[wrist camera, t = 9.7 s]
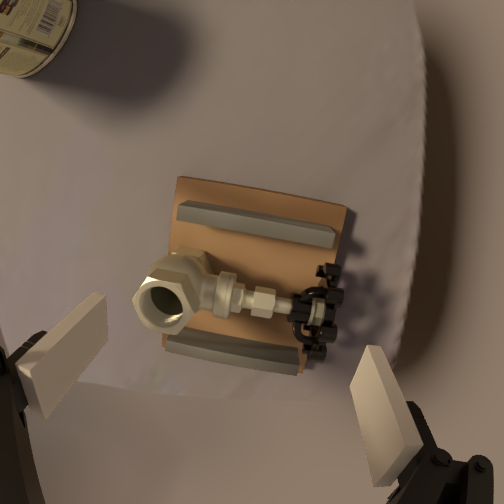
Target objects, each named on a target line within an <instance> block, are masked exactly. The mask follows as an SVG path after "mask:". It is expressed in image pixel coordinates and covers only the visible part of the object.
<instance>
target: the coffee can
mask: <svg viewBox="0 0 504 504" xmlns="http://www.w3.org/2000/svg"><path fill="white" fill-rule="evenodd" d="M76 13H77V2H76V0H0V74H5V75H10V76H13V77H16V78H24V77H28V76H30V75H33V74H34V73H36V72H38V71H40V70H41V69H42V68H43V67H45V66H46V65H47V64H48V63H49V62H50V61H51V60H52V59H53V58H54V57H55V56H56V55H57V53H58V52H59V51H60V49H61V48H62V46H63V45H64V43H65V42H66V40H67V38H68V36H69V34H70V32H71V30H72V27H73V25H74V22H75V18H76Z"/></svg>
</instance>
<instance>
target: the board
mask: <svg viewBox="0 0 504 504" xmlns="http://www.w3.org/2000/svg"><path fill="white" fill-rule="evenodd" d="M346 211H347V207H346V206H344V205H340V204H335V203H331V202H326V201H321V200H316V199H312V198H307V197H302V196H297V195H291V194H286V193H281V192H276V191H270V190H265V189H259V188H254V187H248V186H242V185H236V184H230V183H224V182H218V181H212V180H205V179H199V178H192V177H185V176H180V177H177V184H176V191H175V199H174V207H173V215H172V224H171V233H170V243H169V253H168V255H169V254H172V253H173V252H174V251H175V250H176V249H177V248H178V247H188V248H194V249H198V250H202V251H205V253H206V255H207V257H208V259H209V262H210V264H211V267H212V269H213V272H214V275H217V276H219V275H220V273H221V271H224V272H230V273H235V274H237V279H236V282H237V283H242V284H245V289H246V290H249V291H254V292H255V287H256V286H259V287H265V288H271V289H275V290H276V297H281V298H287V299H290V296H291V293H292V292H298V293H301V292H302V291H303V290H305V289H307V288H310V287H311V286H313V287H317V286H318V284H319V282H320V280H321V277H316V276H315V274H316V269H317V266H318V265H324V263H326V262H327V263H332V264H334V262H335V258H336V254H337V250H338V246H339V242H340V237H341V233H342V229H343V225H344V220H345V216H346ZM292 324H293V323H290V322H287V314H283V313H277V312H273V314H272V317H271V318H270V319H269V318H264V317H258V316H252V315H251V309H246V308H243V309H241V312H240V313H236V312H231V313H230V317H229V319H222V318H217V317H213V312H212V311H208V310H199V311H198V312H197V313H195V314H194V316H193V317H192V318H191V319H190V320H189V322H188V323H187V324H186V325H185V326H184V327H183V329H182V330H181V331H180V332H179V333H178V334H177V335H171V334H165V333H163V337H162V347H166V349H165V351H168V352H172V353H176V354H181V355H185V356H189V357H194V358H198V359H203V360H208V361H213V362H218V363H223V364H228V365H233V366H238V367H244V368H249V369H255V370H261V371H267V372H274V373H280V374H287V375H294V376H297V373H303V370H304V367H305V364H306V361H307V354H303V353H302V346H303V343H301V342H299V341H298V340H297V339H296V338H295V337H294V335H293V332H292ZM301 332H302V334H303V335H305V336H309V331H306V330H303V324H302V326H301Z"/></svg>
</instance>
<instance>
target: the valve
mask: <svg viewBox="0 0 504 504" xmlns="http://www.w3.org/2000/svg"><path fill="white" fill-rule="evenodd" d="M315 276H316V277H321V280H320V282H319V284H318V286H317V287H313V286H311V287H310V288H307V289H305V290H303V291H302V292H301V293H298V292H292V293H291V296H290V299H287V298H281V297H276V290H275V289H271V288H265V287H259V286H256V287H255V292H254V291H249V290H246V289H245V284H242V283H237V282H236V279H237V274H235V273H230V272H224V271H221V273H220V275H219V276H217V275H214V272H213V269H212V267H211V264H210V262H209V259H208V257H207V255H206V253H205V251H202V250H198V249H194V248H188V247H178V248H177V249H176V250H175V251H174V252H173V253H172V254H169V255H166V256H164V257H162V258H160V259H159V260H158V261H156V262H155V263H154V264H153V266H152V267H151V268H150V270H149V272H148V274H147V277H146V280H145V281H144V283H143V284H142V285H141V287H140V288H139V290H138V291H137V293H136V294H135V295H134V297H133V299H132V302H133V305H134V307H135V310H136V312H137V314H138V316H139V318H140V319H141V321H142V323H143V324H144V326H145V327H146V328H148V329H150V330H153V331H156V332H160V333H165V334H171V335H177V334H178V333H179V332H180V331H181V330H182V329H183V327H184V326H185V325H186V324H187V323H188V322H189V320H190V319H191V318H192V317H193V316H194V314H195V313H197V312H198V311H199V310H208V311H212V312H213V317H217V318H222V319H229V317H230V313H231V312H236V313H240V312H241V309H243V308H246V309H251V315H252V316H258V317H264V318H269V319H270V318H271V317H272V314H273V312H277V313H283V314H287V322H290V323H293V324H292V332H293V335H294V337H295V338H296V339H297V340H298V341H299V342H301V343H303V346H302V353H303V354H307V360H308V361H315V362H323V361H324V360H325V357H326V352H327V348H326V343H334V342H335V340H336V337H337V325H336V324H334V318H335V312H336V309H337V307H338V308H339V307H341V305H342V303H343V299H344V290H343V289H342V288H336V285H337V282H338V281H339V279H340V276H341V266H340V265H338V264H332V263H327V262H326V263H324V265H318V266H317V269H316V274H315ZM302 324H303V330H306V331H309V336H305V335H303V334H302V332H301V326H302ZM319 326H320V327H319Z"/></svg>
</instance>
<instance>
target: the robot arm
mask: <svg viewBox="0 0 504 504" xmlns="http://www.w3.org/2000/svg"><path fill="white" fill-rule="evenodd" d="M107 341H108V326H107V301H106V295H104V294H100V293H96V292H93V293H92V294H91V295H89V296H88V297H87V298H86V299H85V300H84V301H82V302H81V303H80V304H79V305H78V306H77V307H76V308H74V309H73V310H72V311H71V312H70V313H69V314H68V315H67V316H65V317H64V318H63V319H62V320H61V321H60V322H59V323H58V324H57V325H55V326H54V327H53V328H52V329H51V330H50V331H49V332H46V331H41V332H38V333H36V334H34V335H33V336H32V337H30V338H29V339H28V340H27V342H25V343H24V344H23V345H22V347H21V346H20V347H19V348H18V349H17V350H16V351H15V352H14V353H13V354H12V355H11V356H10V357H8V358H7V359H6V356H5V352H4V349H3V348H2V347H1V346H0V504H45V501H44V497H43V494H42V490H41V487H40V483H39V479H38V475H37V471H36V467H35V463H34V459H33V454H32V449H31V444H30V439H29V434H28V428H27V421H26V416H25V412H24V409H25V408H26V406H27V405H28V406H29V408H30V411H31V414H33V415H35V416H37V417H39V418H41V419H43V420H45V421H46V420H47V418H48V417H49V416H50V414H51V413H52V412H53V410H54V409H55V408H56V406H57V405H58V404H59V402H60V401H61V400H62V398H63V397H64V396H65V394H66V393H67V392H68V391H69V389H70V388H71V387H72V385H73V384H74V383H75V381H76V380H77V379H78V378H79V376H80V375H81V374H82V372H83V371H84V370H85V369H86V367H87V366H88V365H89V364H90V362H91V361H92V360H93V359H94V357H95V356H96V355H97V354H98V352H99V351H100V350H101V349H102V347H103V346H104V345H105V344H106V342H107ZM350 390H351V394H352V398H353V401H354V405H355V409H356V413H357V417H358V421H359V425H360V429H361V434H362V438H363V442H364V446H365V451H366V455H367V459H368V464H369V468H370V472H371V477H372V482H373V487H384V486H391V485H392V483H393V482H394V481H395V480H396V479H398V483H399V486H398V487H397V488H396V489H395V490H394V492H393V493H392V494H391V495H390V496H389V497H388V499H389V500H388V502H387V503H386V504H493V494H494V493H493V492H494V489H493V488H494V482H493V481H494V480H493V479H494V477H493V465H492V463H491V462H490V460H489V459H488V458H486V457H485V456H482V455H475V456H472V457H471V459H470V460H469V461H468V462H461V461H455V460H453V459H452V457H451V455H450V454H449V453H448V452H446V451H445V450H443V449H440V448H438V447H437V445H436V443H435V441H434V438H433V436H432V434H431V431H430V429H429V427H428V425H427V422H426V420H425V419H424V416H423V414H422V411H421V409H420V408H419V407H418V406H417V405H416V404H415V403H414V402H413V401H405V399H404V397H403V394H402V392H401V390H400V388H399V385H398V383H397V381H396V378H395V376H394V374H393V372H392V370H391V367H390V365H389V363H388V361H387V359H386V357H385V355H384V352H383V350H382V348H381V346H375V345H367V346H366V348H365V351H364V353H363V356H362V358H361V361H360V363H359V365H358V368H357V370H356V373H355V375H354V377H353V380H352V382H351V384H350Z"/></svg>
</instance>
